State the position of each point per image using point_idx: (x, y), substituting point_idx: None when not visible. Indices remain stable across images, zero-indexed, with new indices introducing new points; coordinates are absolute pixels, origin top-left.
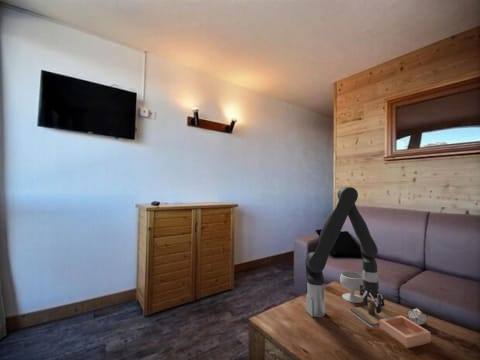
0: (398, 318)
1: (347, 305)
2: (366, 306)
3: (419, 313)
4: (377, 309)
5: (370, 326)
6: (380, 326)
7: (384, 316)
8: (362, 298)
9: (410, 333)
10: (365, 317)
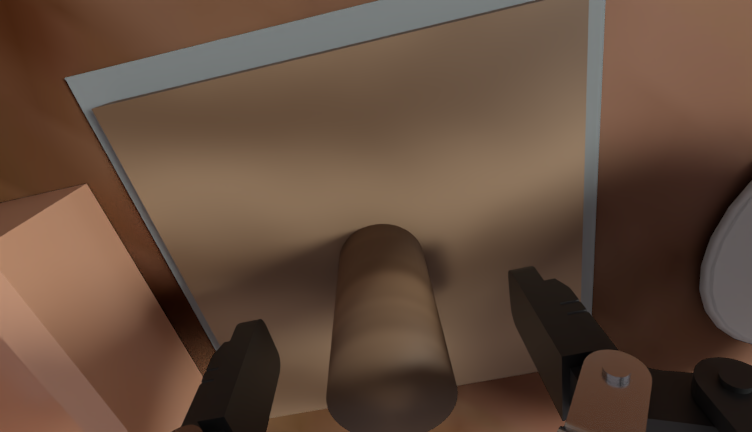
0: None
1: (735, 44)
2: None
3: None
4: (220, 375)
5: (94, 80)
6: (44, 203)
7: (314, 362)
8: None
9: (27, 412)
10: (282, 121)
